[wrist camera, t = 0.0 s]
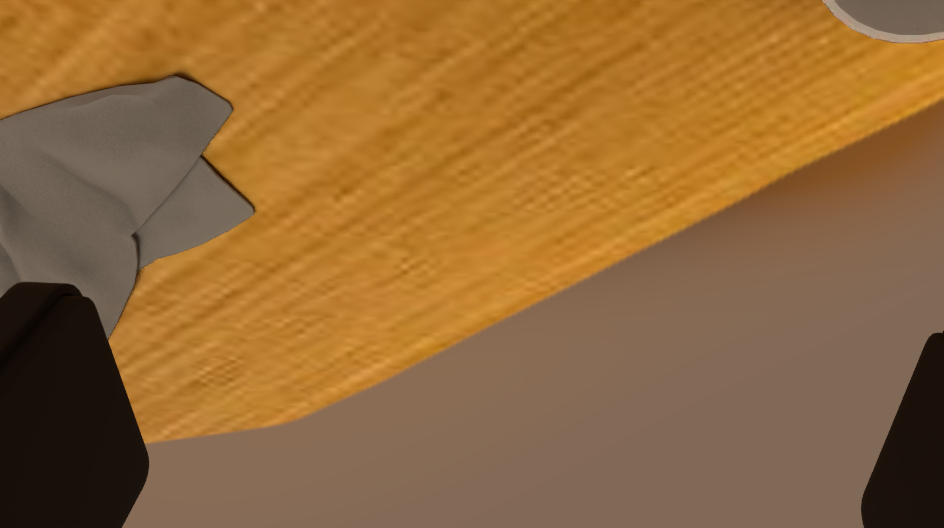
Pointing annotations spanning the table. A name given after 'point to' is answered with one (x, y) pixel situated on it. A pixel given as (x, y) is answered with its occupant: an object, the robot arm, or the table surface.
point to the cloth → (111, 187)
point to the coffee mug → (892, 18)
